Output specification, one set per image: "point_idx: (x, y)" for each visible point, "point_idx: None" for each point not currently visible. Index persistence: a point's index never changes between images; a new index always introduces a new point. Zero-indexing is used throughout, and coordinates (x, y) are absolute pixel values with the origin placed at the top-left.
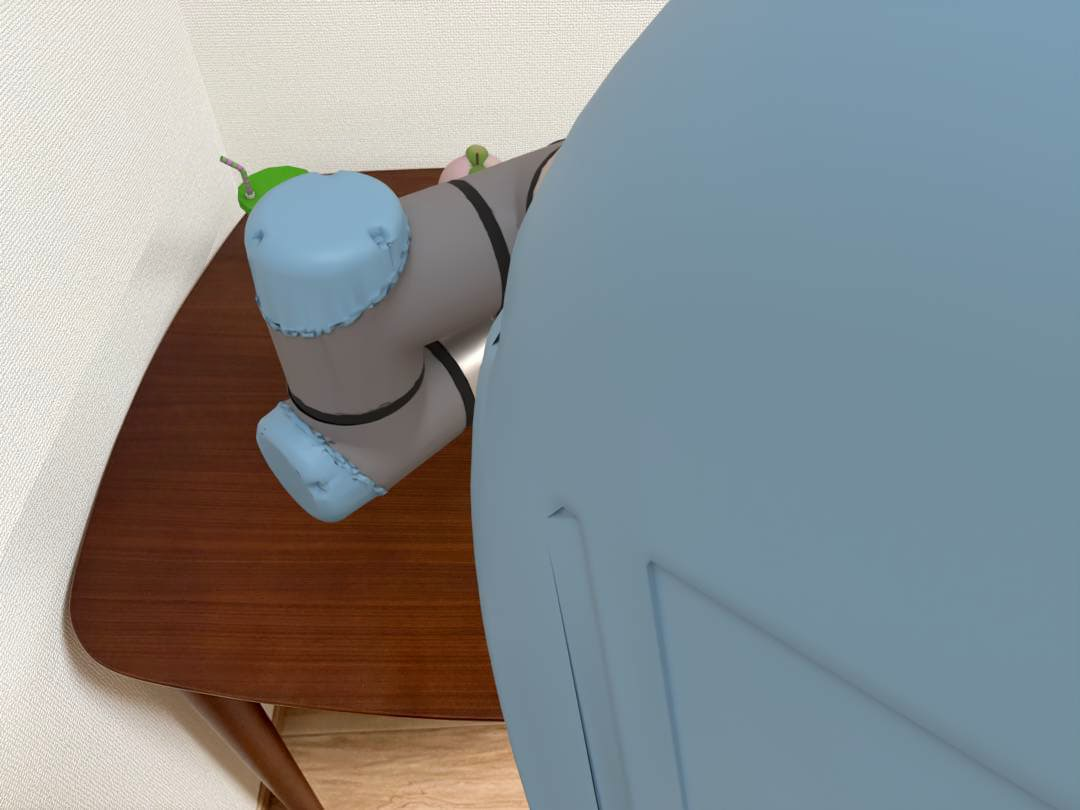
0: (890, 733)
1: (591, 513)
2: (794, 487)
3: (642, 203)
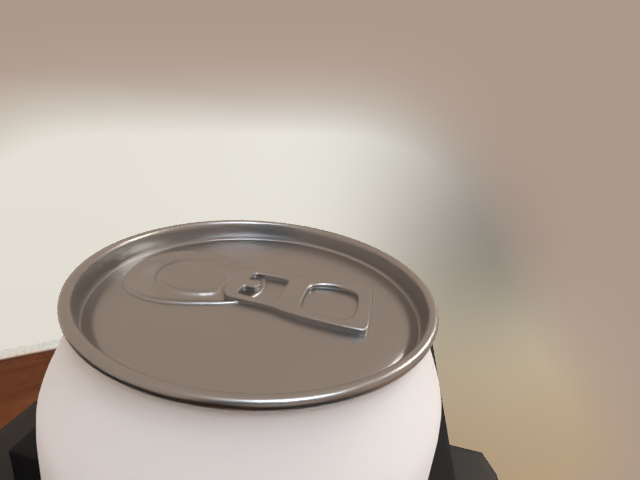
0: None
1: None
2: None
3: None
